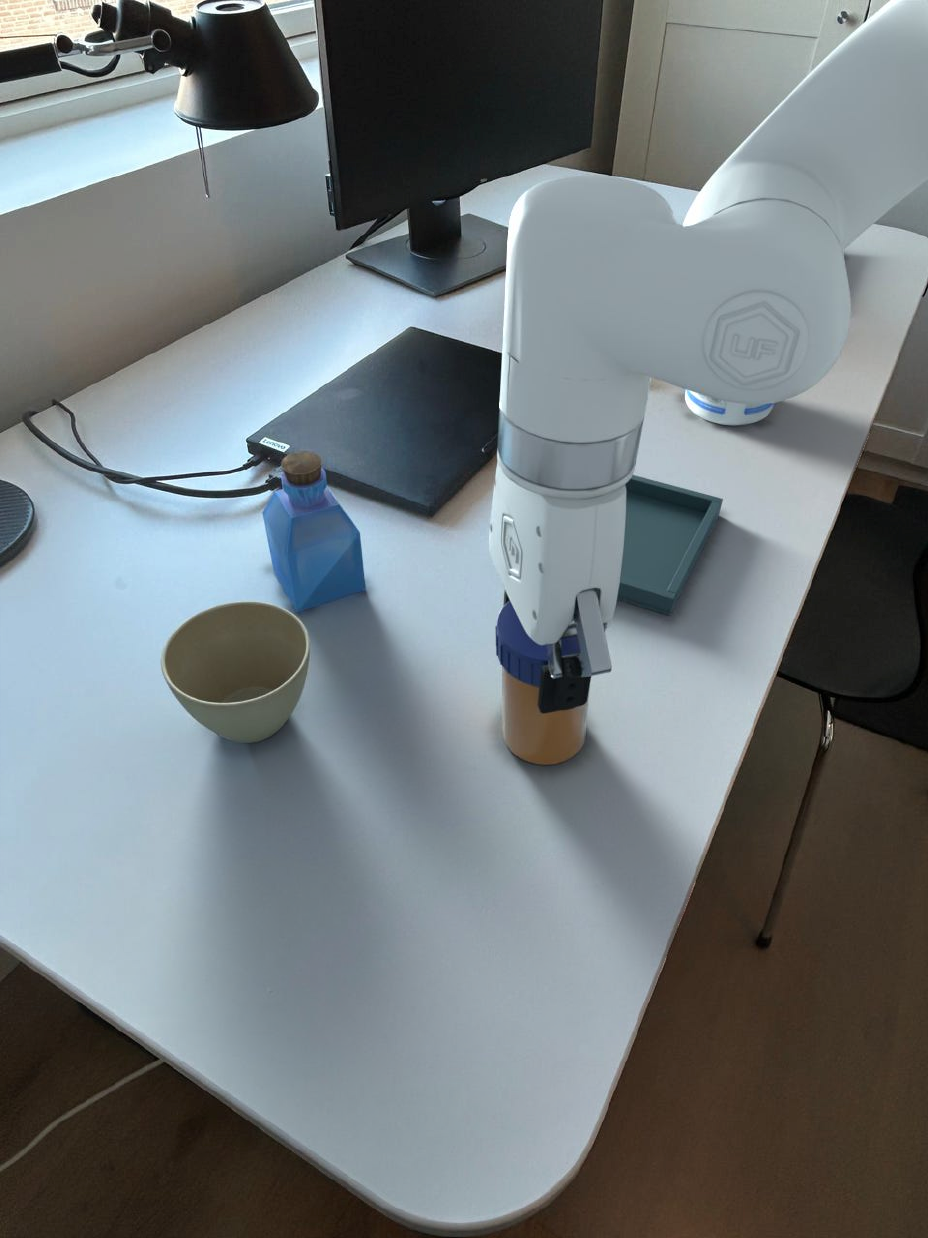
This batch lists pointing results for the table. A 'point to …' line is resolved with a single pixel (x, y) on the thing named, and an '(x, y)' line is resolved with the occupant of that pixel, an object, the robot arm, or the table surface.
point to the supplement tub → (726, 410)
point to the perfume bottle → (312, 536)
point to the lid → (524, 648)
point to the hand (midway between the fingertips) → (542, 664)
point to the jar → (539, 725)
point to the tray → (662, 541)
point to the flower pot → (238, 668)
